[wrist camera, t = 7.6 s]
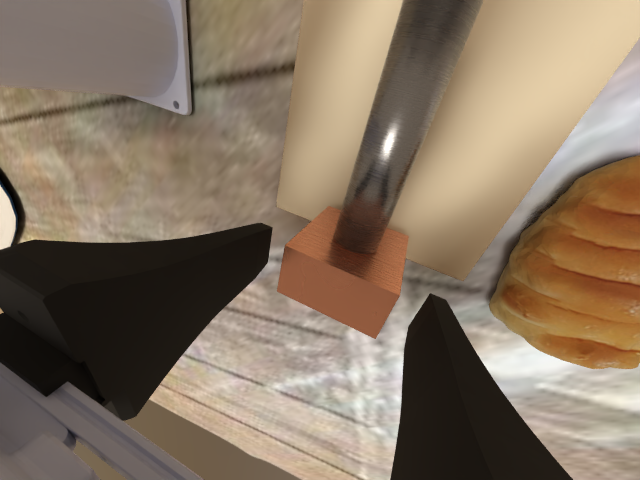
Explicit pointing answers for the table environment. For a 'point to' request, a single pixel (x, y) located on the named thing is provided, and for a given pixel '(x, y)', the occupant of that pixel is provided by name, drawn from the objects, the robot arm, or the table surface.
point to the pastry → (580, 273)
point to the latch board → (450, 113)
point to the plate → (7, 218)
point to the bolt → (380, 175)
